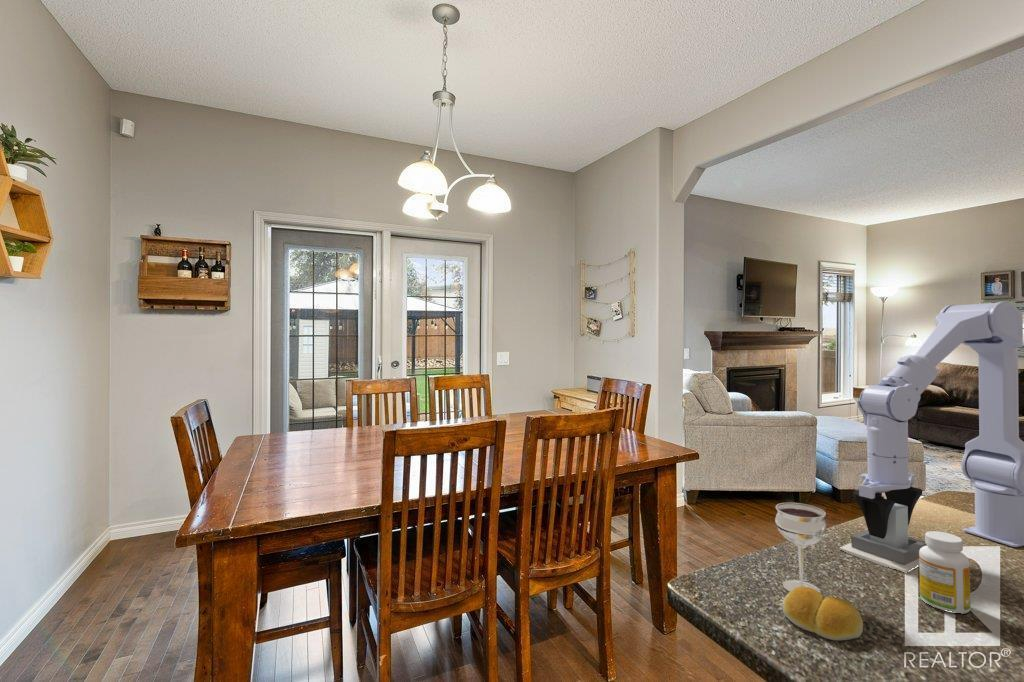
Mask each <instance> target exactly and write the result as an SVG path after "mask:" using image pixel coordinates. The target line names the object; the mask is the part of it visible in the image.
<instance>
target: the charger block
mask: <svg viewBox="0 0 1024 682" xmlns="http://www.w3.org/2000/svg"><path fill="white" fill-rule="evenodd" d="M908 537H909V526H908V506H904V505H900V504H896V503H895V504H894V505H893V507H892V509H891V511H890V514H889V518H888V525H887V533H886V536H885V538H883V539H882V538H878V537H875V536H872V535H870V540H872V541H875V542H878V543H882V544H885V545H888V546H891V547H894V548H897V549H902V548H905V547H907V546H908Z"/></svg>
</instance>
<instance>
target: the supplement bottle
mask: <svg viewBox="0 0 1024 682" xmlns="http://www.w3.org/2000/svg"><path fill="white" fill-rule="evenodd" d="M924 541H925V543H926V544H927V546H923V547H922V548H921V549H920V550H919V596H920V597H919V598H920V599H921V600H923V601H924V602H925V603H924V602H923V603H924V604H926V603H927V604H929V605H931V606H933V607H937V608H941V609H943V610H947V611H952V612H956V613H961V614H960V615H963V614H964V615H965V614H967V613H969V612H970V611H971V605H972V604H971V564H970V559H969V558H968V556H967V555H966V554H964V553H963V552H962V551H963V550H964V543H963V539H962V538H961V537H959V536H957V535H954V534H953V533H948V532H943V531H937V530H934V531H932V530H931V531H926V532H925V533H924ZM927 604H926V605H927ZM929 605H928V606H929ZM931 606H930V607H931ZM933 607H932V608H933Z"/></svg>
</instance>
